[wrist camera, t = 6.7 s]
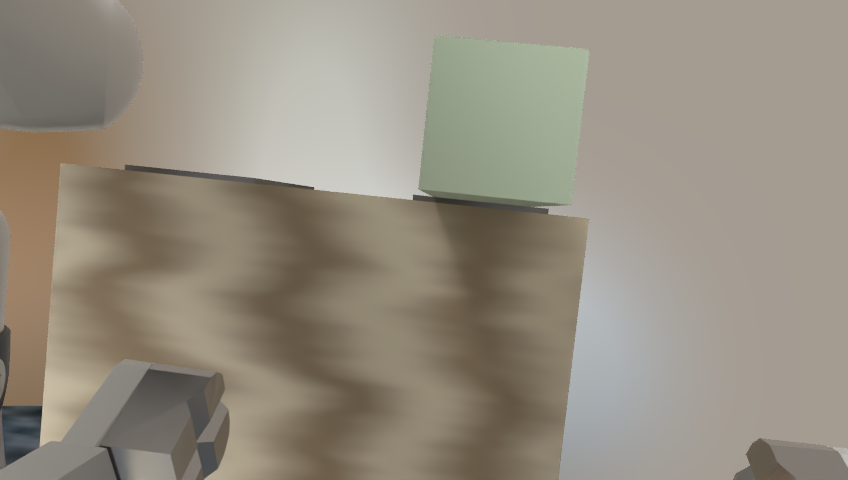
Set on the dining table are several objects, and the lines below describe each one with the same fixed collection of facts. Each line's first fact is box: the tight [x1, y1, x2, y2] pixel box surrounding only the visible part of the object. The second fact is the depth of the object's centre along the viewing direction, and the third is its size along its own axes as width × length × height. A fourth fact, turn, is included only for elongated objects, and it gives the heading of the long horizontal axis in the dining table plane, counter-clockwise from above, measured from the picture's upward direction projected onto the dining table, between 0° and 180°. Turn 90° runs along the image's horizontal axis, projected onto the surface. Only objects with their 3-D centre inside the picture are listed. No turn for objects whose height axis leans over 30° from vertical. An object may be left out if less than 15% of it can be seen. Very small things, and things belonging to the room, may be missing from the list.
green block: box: [418, 35, 589, 207], centre depth 26 cm, size 4×24×4 cm, turn 177°
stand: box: [40, 163, 589, 480], centre depth 30 cm, size 20×10×26 cm, turn 87°
